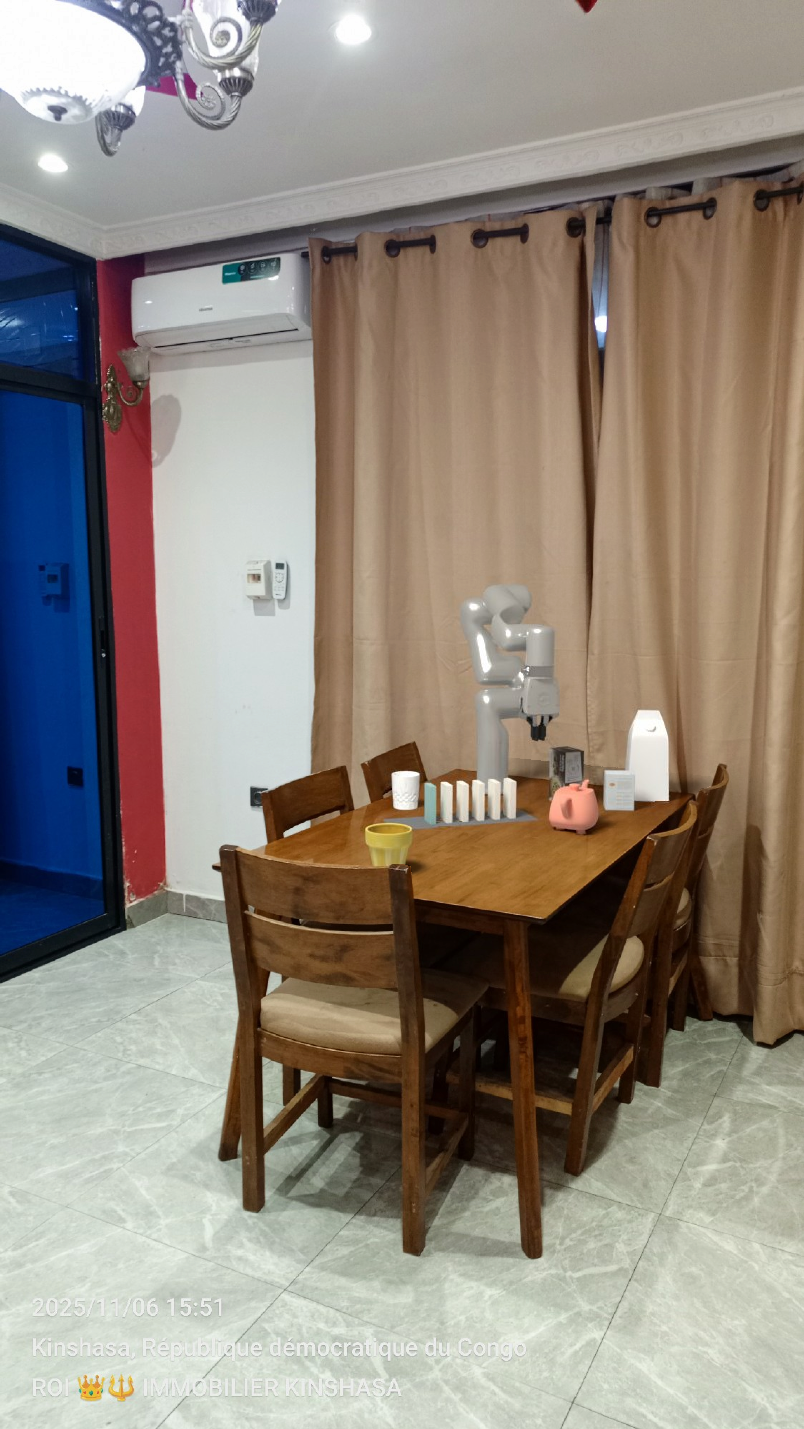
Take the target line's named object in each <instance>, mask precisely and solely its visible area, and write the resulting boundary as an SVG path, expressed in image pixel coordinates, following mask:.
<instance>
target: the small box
mask: <svg viewBox="0 0 804 1429" xmlns="http://www.w3.org/2000/svg"><path fill="white" fill-rule="evenodd" d="M603 773H604V774H603V775H604V776H603V808H604V809H605V811H620V812H621V811H625V812H626V811H627V812H630V811H631V812H634V811H635V801H634V788H635V774H634V773H633V772H632V771H625V770H622V769H621V770H619V769H618V770H615V769H614V770H610V769H607V770H606V769H604V772H603Z"/></svg>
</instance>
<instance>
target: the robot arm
mask: <svg viewBox="0 0 804 1429" xmlns="http://www.w3.org/2000/svg"><path fill="white" fill-rule="evenodd" d="M532 602H533V596H532V592H531V591H530V589H529V588H528V587H527V586H525V585H523V584H516V583H515V584H514V583H513V584H509V583H508V584H500V583H499V584H492V585H490V586H488V587H487V588H485V590H484V591H483V593H482V596H481V597H480V596H478V597H477V596H475V597H471V598H468V599H465V600H463V602H462V603H461V605H460V608H459V622H460V626H461V629H462V633H463V634H464V637H465V639H466V640H467V643H468V646H469V652H470V659H471V664H472V669H473V673H474V674H473V675H474V678H475V681H476V682H477V684H478V685H480V686H486V687H485V688H482V689H481V690H478V691H477V693H475V696H474V709H475V714H476V715H475V717H476V728H477V729H476V731H477V733H476V735H477V736H476V738H477V740H476V741H477V743H476V744H477V745H476V746H477V747H476V780H479V781H481V782H483V783H484V784H485V795H488V779H495V780H497V781H498V782H500V783H501V792H500V795H503V790H504V778H509V753H510V752H509V748H510V745H509V743H510V740H509V739H510V738H509V731H508V729H507V728H506V726H505V725H504V724H503V722H502V720H507V719H521V720H524V721H526V722H527V723H528V725H530V738H531V740H532V741H535V742H539V741H541V742H545V741H546V738H547V726H548V725H549V723H550V722H551V721H552V720H553V719H557V718H559V717H560V705H561V704H560V703H561V702H560V701H561V700H560V690H559V682H558V678H557V677H556V676H555V641H556V639H555V637H556V634H555V632H556V630H555V629H554V628H553V627H552V626H547V625H544V624H539V623H538V624H537V623H522V622H523V621H524V619H525V615H526V614H527V613H528V612H529V611H530V609H531V607H532ZM485 625H486V626H487V625H488V626H490V631H489V630H488V629H487V628H485ZM499 649H501V650H502V651H504V652H507V653H515V652H516V653H517V652H518V653H519V652H522V653H523V652H525V661H524V660H523V659H522V657H521V656H520V655H517V654H502V653H500V652H499ZM487 686H488V687H487ZM498 686H499V687H498ZM500 686H501V687H500ZM504 686H507V687H504ZM538 716H540V717H539V719H540V720H539V724H538Z"/></svg>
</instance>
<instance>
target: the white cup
mask: <svg viewBox="0 0 804 1429" xmlns="http://www.w3.org/2000/svg"><path fill="white" fill-rule="evenodd" d="M420 775H421V773H419V772H417V771H411V770H409V771H408V770H404V771H402V770H400V771H395V772H392V773H391V788H392V790H391V792H392V803H393V808H394V809H396V810H402V811H406V810H407V811H408V810H409V811H411V810H415V809H417V808H418V807H419V797H420V796H419V793H420V777H421V776H420Z"/></svg>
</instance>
